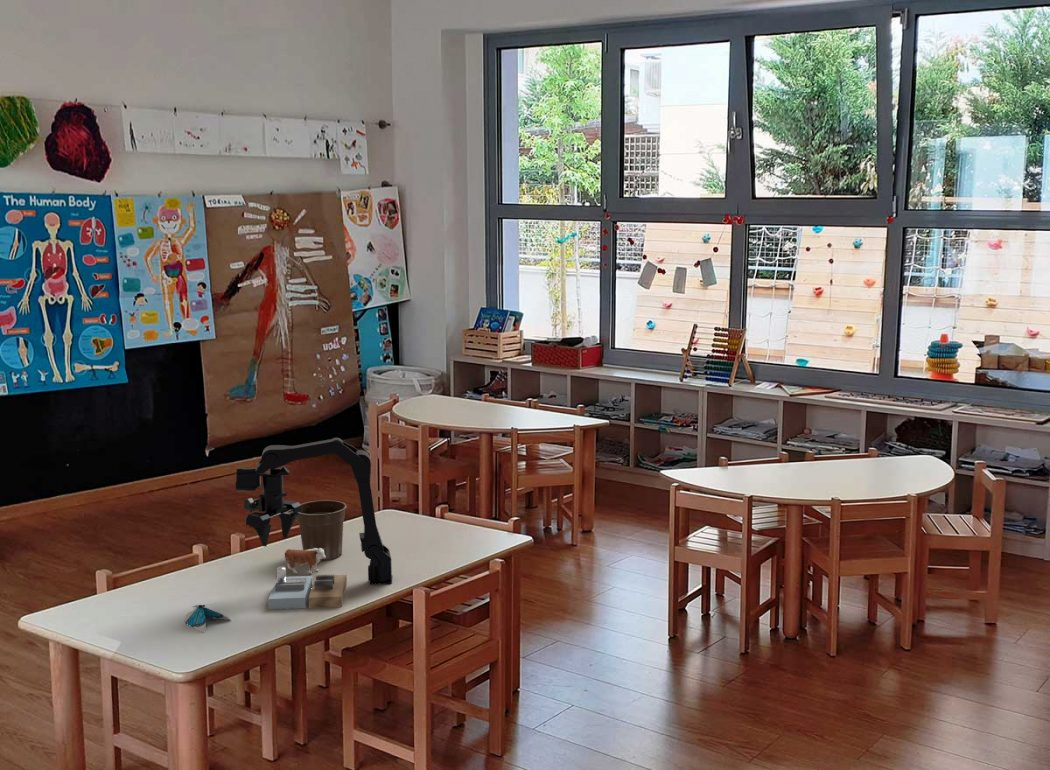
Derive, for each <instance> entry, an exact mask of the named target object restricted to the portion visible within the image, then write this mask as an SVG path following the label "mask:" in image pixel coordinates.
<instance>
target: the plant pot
mask: <svg viewBox="0 0 1050 770" xmlns="http://www.w3.org/2000/svg"><path fill="white" fill-rule="evenodd" d="M300 504H301V512H298V513H299V515H297V517H296V520H297V523H298V526H299V532H300V538H301V545H302V550H309V549H314V548H317V549H319V548H322V549H324V548H325V550H324V554H325V556H326V558H325V559H320V562H323V561H324V562H326V560H327V561H331V560H334V559H337V558H339V557H340V556H342V555H343V538H344V537H343V536H344V535H343V534H344V533H343V531H344V520H345V517H346V516H345V515H346V514H345V513H346V509H347V504H346V503H345V502H342V501H338V500H332V499H321V500H320V499H319V500H313V501H311V500H310V501H308V502H303V503H300Z"/></svg>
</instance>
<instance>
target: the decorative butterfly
mask: <svg viewBox="0 0 1050 770" xmlns="http://www.w3.org/2000/svg"><path fill="white" fill-rule="evenodd" d="M213 604H216V603H213ZM209 605H212V604H209ZM206 606H207V605H205V604H197V605H193V606H191V608H193V610H191V611H190V612H188V613H187V614H186V615H185V617H184V624H185V623H186V624H185V625H187V624H188V625H187V626H189V625H190V626H189V627H191V626H192V627H193V629H195V628H196V630H198V631H199V630H201V631H202V632H201V631H200V632H201V633H205V631H206V626H207V625H206V624H207V623H206V622H207V619H206V618H210V619H216V620H223V619H224V620H225V621H230V620H231V621H232V619H231V618H229V617H228V616H226V615H224V614H222V613H220V612H218V611H215V610H213V609H211V608H208V607H206Z"/></svg>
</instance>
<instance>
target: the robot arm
mask: <svg viewBox="0 0 1050 770" xmlns="http://www.w3.org/2000/svg"><path fill="white" fill-rule="evenodd" d="M331 454H332V455H333V454H335V455H336V456H338V457H339V458H340V459H342V460H343V461H344V462H346V463H347V464H348V465H350V466H351V470H352V472H353V476H354V478H355V480H356V483H357V488H358V494H359V501H360V502H359V503H360V507H361V508H360V509H361V514H362V519H363V521H362V522H363V526H364V527H363V532H359V535H358V536H359V540H360V548H361V549H360V550H361V552H362V553H364V556H365V558H367V559H369V565H368V566H367V575H368V576H367V579H368V581H369V585H390V584H392V583H393V578H394V577H393V573H392V572H393V570H392V569H393V568H392V566H393V564H392V556H391V550H390V549H389V547H387V546H386V545H385V544H383V539H382V537H381V535H380V532H379V529H378V526H377V522H376V515H375V506H374V502H373V494H372V488H371V476H372V473H371V470H372V461H371V457H370V454H369V453H368V452H367V451H365V450H363V449H357V448H356V447H354V446H353V445H351V444H349V443H347V442H346V441H344V440H342V439H341V438H339V437H333V438H331V439H330V438H329V439H326V440H319V441H314V442H308V443H302V444H296V445H286V444H285V445H284V444H282V445H281V444H271V445H268V446H266V447H265V448H264V449H263V451H262V454H261V457H260V461H259V462H258V463H257V464H256V466H255V467H242V466H241V467H237V468H236V473H235V474H236V475H235V476H236V479H235V491H236V492H251V491H252V492H255V491H257V490H258V489H259V488H261V483H262V493H260V494H259V495H258V498H255V499H253V498H252V497H249V498H247V499H244V500H243V508H244V510H245V511H248V513H249V514H247V516H246V517H245V520H244V521H245V525H246V526H249V527H250V528H253V529H254V530H255V532H256V534H257V535H258V538H259V540H260V543H261V545H262V547H264V548H265V547H266V548H267V545H268V542H269V539H270V538H269V537H270V533H271V527H272V524H270V523H271V519H272V518H274V517H276V516H278V517H279V518H280V523H281V532H282V538H284V539H286V538H288V535H289V533H290V531H291V529H292V526H293V525H294V522H295V521H296V520H297V515H299V513H298V512H301V504H302V503H300V502H299V501H294V500H287V499H285V500H284V498H285V497H287V492H286V491H284V477H283V476H288V475H290V470H289V469H288V468H286V467H285V466H286V465H288V464H289V463H292V462H296V461H299V460H305V459H309V458H315V457H320V456H328V455H331ZM261 477H262V482H261ZM257 511H258V512H257ZM252 512H253V513H252Z"/></svg>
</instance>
